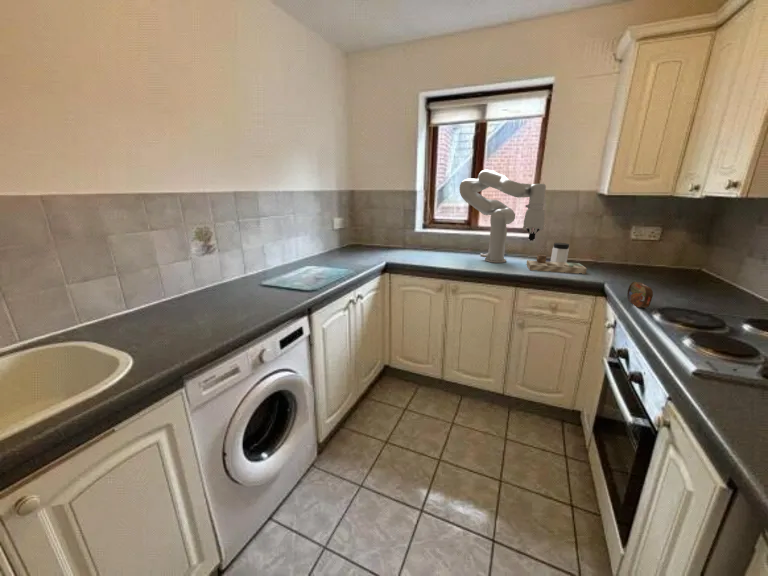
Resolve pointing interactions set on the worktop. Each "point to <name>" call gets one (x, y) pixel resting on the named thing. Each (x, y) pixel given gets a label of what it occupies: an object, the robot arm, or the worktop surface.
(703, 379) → the worktop surface
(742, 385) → the worktop surface
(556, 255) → the jar
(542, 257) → the block
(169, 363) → the worktop surface
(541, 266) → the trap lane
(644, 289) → the tin
